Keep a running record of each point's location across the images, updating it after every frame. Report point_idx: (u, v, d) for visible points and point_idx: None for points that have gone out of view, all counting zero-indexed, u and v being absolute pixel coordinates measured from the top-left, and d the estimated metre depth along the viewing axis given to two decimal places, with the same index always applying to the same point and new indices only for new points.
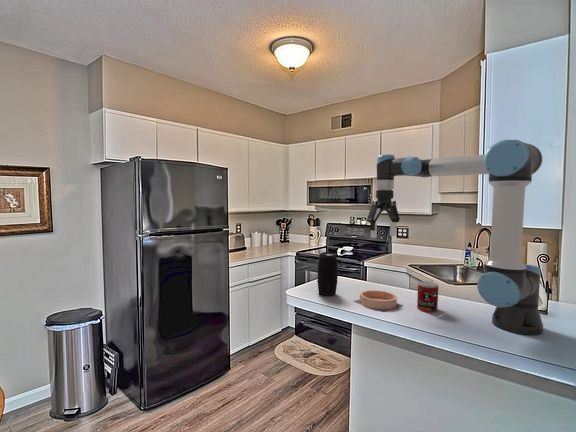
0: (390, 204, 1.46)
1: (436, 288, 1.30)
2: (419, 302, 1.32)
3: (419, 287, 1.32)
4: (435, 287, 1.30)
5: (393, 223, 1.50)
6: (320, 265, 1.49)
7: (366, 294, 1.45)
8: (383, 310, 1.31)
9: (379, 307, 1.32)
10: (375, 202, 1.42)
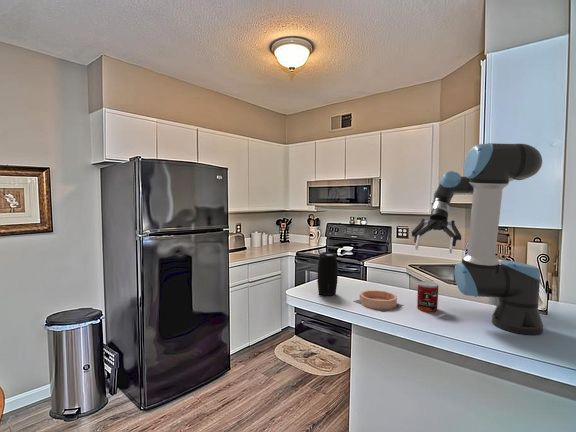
0: (441, 221, 1.47)
1: (436, 288, 1.30)
2: (419, 302, 1.32)
3: (419, 287, 1.32)
4: (435, 287, 1.30)
5: (451, 239, 1.40)
6: (320, 265, 1.49)
7: (366, 294, 1.45)
8: (383, 310, 1.31)
9: (379, 307, 1.32)
10: None
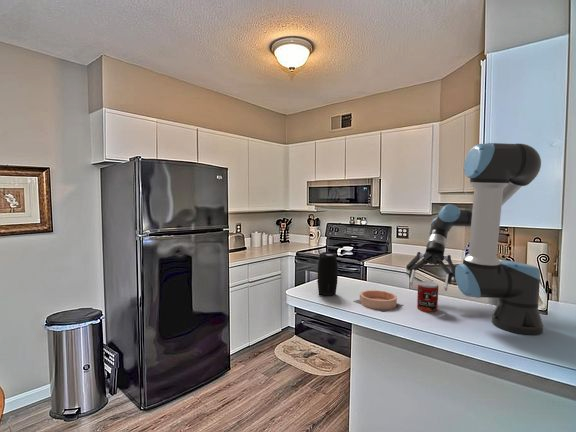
0: (437, 255, 1.43)
1: (436, 288, 1.30)
2: (419, 302, 1.32)
3: (419, 287, 1.32)
4: (435, 287, 1.30)
5: None
6: (320, 265, 1.49)
7: (366, 294, 1.45)
8: (383, 310, 1.31)
9: (379, 307, 1.32)
10: None
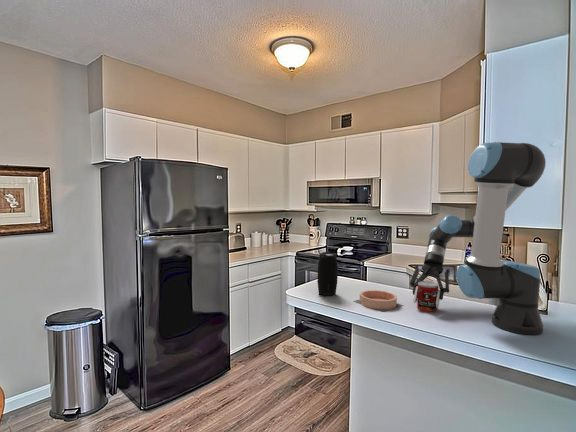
0: (436, 268, 1.37)
1: (436, 288, 1.30)
2: (419, 302, 1.32)
3: (419, 287, 1.32)
4: (435, 287, 1.29)
5: (438, 291, 1.31)
6: (320, 265, 1.49)
7: (366, 294, 1.45)
8: (383, 310, 1.31)
9: (379, 307, 1.32)
10: (415, 267, 1.43)
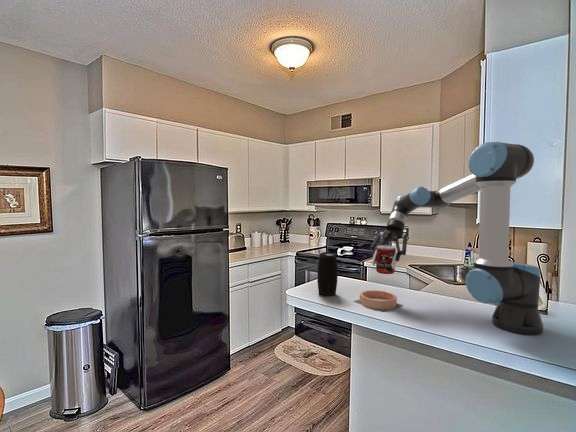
0: (395, 232, 1.43)
1: (393, 250, 1.36)
2: (377, 264, 1.39)
3: (377, 250, 1.39)
4: (392, 249, 1.36)
5: None
6: (320, 265, 1.49)
7: (366, 294, 1.45)
8: (383, 310, 1.31)
9: (379, 307, 1.32)
10: None
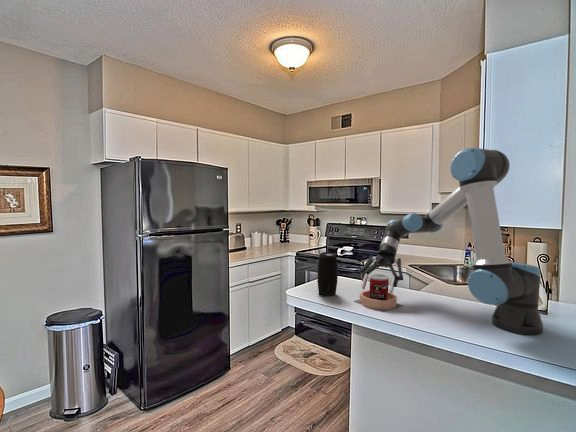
0: (388, 258, 1.43)
1: (386, 281, 1.36)
2: (370, 294, 1.38)
3: (370, 280, 1.38)
4: (385, 280, 1.36)
5: None
6: (320, 265, 1.49)
7: (366, 294, 1.45)
8: (383, 310, 1.31)
9: (379, 307, 1.32)
10: None
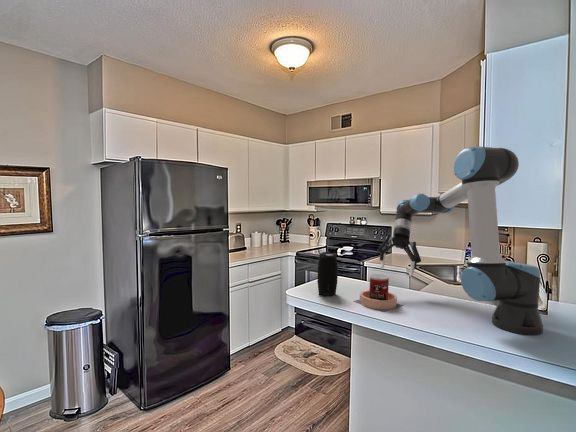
0: (405, 241, 1.53)
1: (386, 281, 1.36)
2: (370, 294, 1.38)
3: (370, 280, 1.38)
4: (385, 280, 1.36)
5: (412, 262, 1.51)
6: (320, 265, 1.49)
7: (366, 294, 1.45)
8: (383, 310, 1.31)
9: (379, 307, 1.32)
10: (387, 236, 1.55)
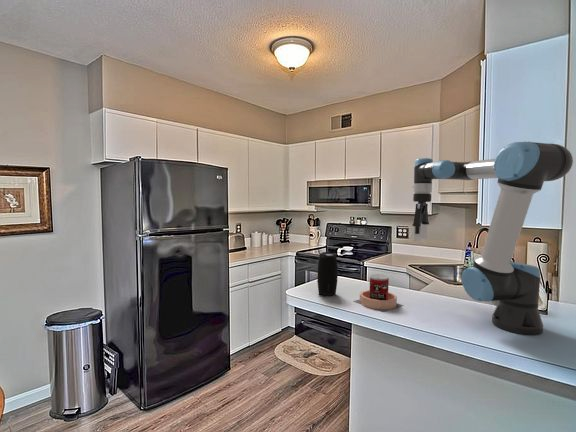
0: (427, 207, 1.49)
1: (386, 281, 1.36)
2: (370, 294, 1.38)
3: (370, 280, 1.38)
4: (385, 280, 1.36)
5: (424, 225, 1.54)
6: (320, 265, 1.49)
7: (366, 294, 1.45)
8: (383, 310, 1.31)
9: (379, 307, 1.32)
10: (419, 205, 1.42)
